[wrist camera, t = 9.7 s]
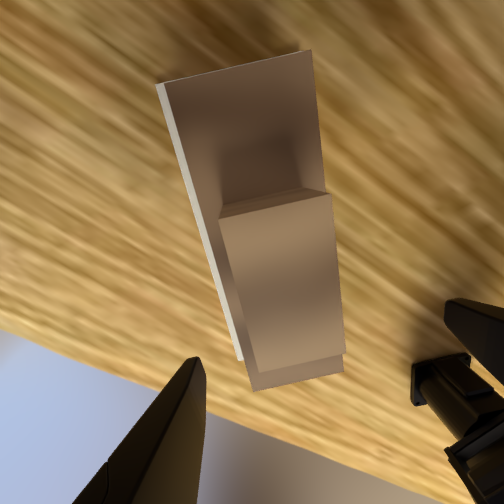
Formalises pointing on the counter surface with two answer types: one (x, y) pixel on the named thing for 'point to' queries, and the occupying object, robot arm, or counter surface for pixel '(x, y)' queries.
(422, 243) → the counter surface
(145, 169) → the counter surface
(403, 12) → the counter surface
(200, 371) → the robot arm
